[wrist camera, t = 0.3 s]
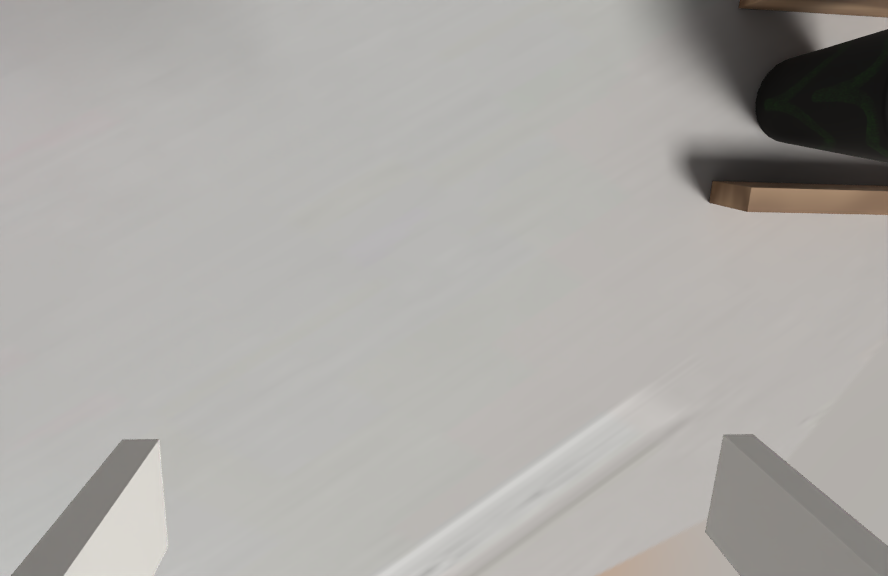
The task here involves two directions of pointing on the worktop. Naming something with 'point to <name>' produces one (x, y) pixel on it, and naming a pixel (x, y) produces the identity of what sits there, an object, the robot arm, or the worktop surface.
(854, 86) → the cup
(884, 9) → the wooden frame
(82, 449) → the worktop surface
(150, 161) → the worktop surface
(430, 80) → the worktop surface
